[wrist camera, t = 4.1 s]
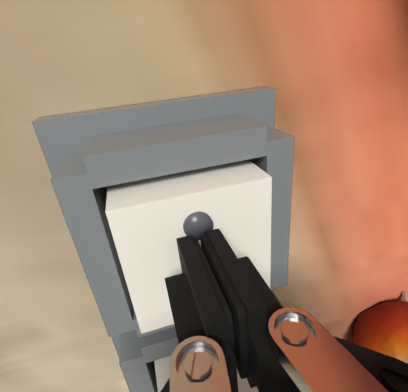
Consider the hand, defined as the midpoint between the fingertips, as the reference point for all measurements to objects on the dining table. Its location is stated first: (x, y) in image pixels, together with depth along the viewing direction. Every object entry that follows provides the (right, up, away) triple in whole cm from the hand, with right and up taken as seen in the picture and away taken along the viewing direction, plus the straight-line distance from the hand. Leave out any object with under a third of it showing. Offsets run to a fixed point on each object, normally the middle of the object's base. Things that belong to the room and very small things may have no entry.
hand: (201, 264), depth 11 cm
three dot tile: (-1, +2, +4) cm, 4 cm away
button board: (-1, -6, +10) cm, 12 cm away
